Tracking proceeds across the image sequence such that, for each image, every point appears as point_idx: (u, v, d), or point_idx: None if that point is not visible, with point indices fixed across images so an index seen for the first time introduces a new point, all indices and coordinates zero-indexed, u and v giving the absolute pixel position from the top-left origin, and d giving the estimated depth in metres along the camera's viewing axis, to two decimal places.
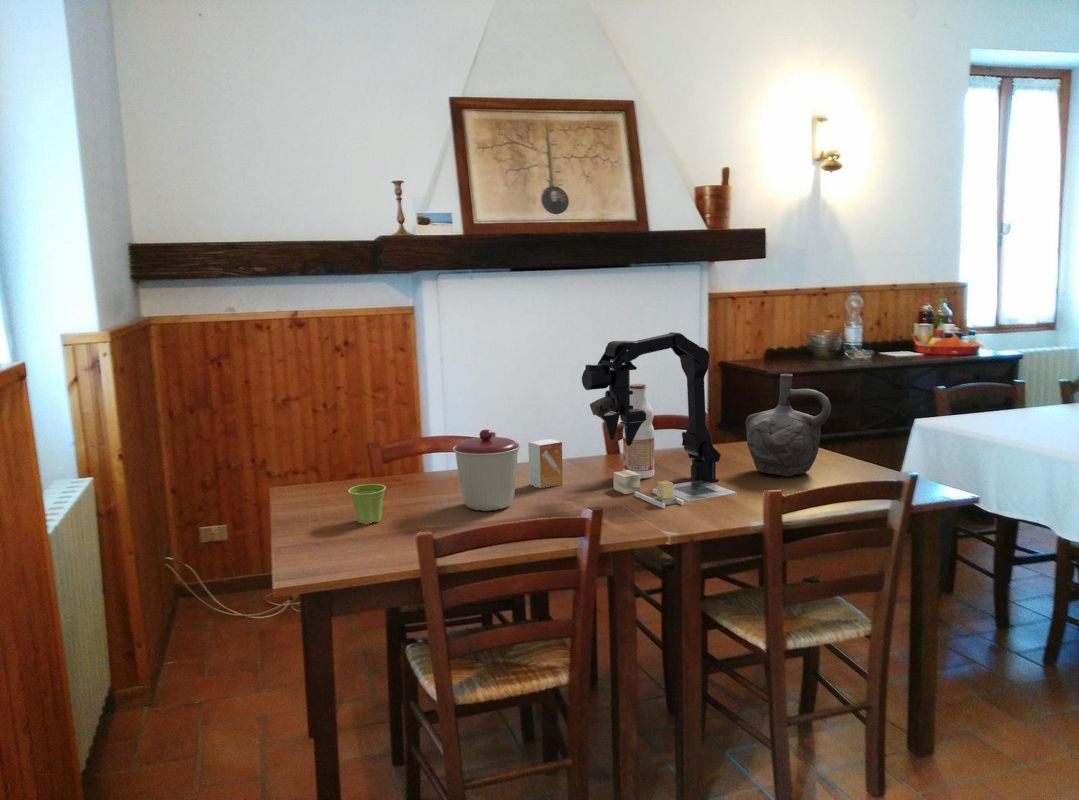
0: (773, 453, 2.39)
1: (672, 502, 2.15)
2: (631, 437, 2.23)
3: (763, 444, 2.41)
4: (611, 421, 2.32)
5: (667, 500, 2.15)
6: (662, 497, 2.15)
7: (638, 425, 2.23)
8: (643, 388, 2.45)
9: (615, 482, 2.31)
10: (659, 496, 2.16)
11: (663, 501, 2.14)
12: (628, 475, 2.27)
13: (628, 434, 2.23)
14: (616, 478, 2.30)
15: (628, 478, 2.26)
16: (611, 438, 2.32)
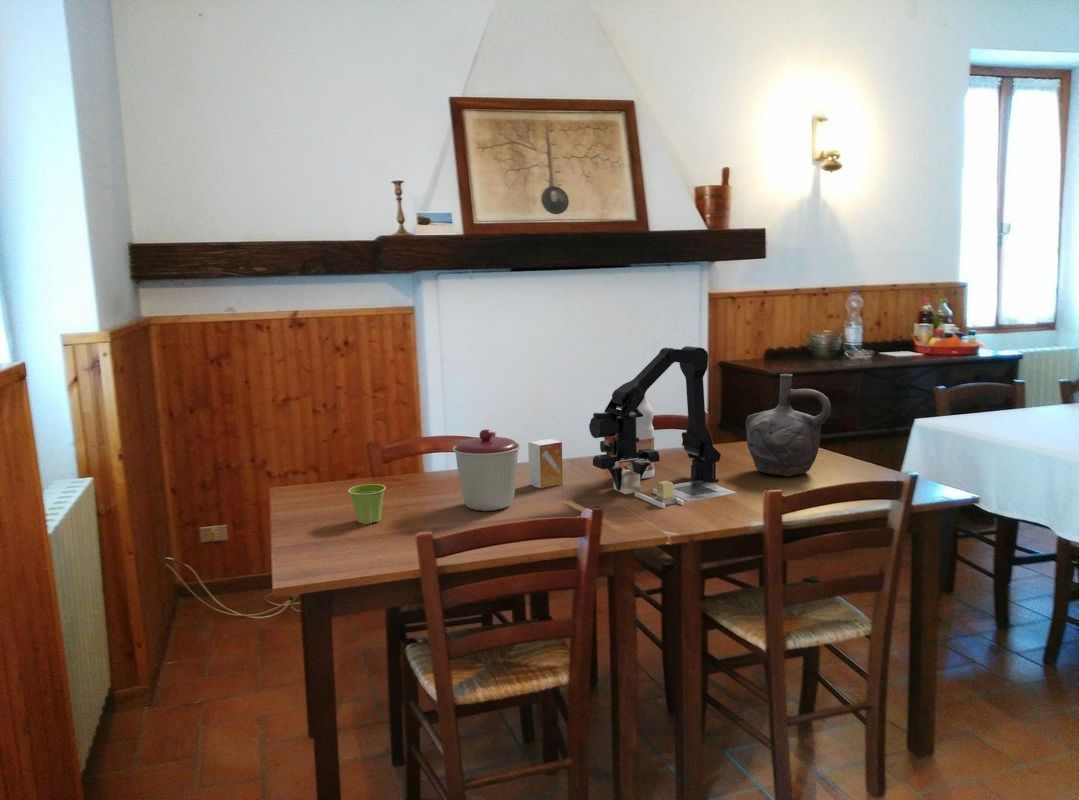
0: (773, 453, 2.39)
1: (672, 502, 2.15)
2: (616, 482, 2.28)
3: (763, 444, 2.41)
4: (636, 469, 2.31)
5: (667, 500, 2.15)
6: (662, 497, 2.15)
7: (616, 472, 2.26)
8: None
9: None
10: (659, 496, 2.16)
11: (663, 501, 2.14)
12: (628, 475, 2.27)
13: (613, 478, 2.29)
14: None
15: (628, 478, 2.26)
16: None
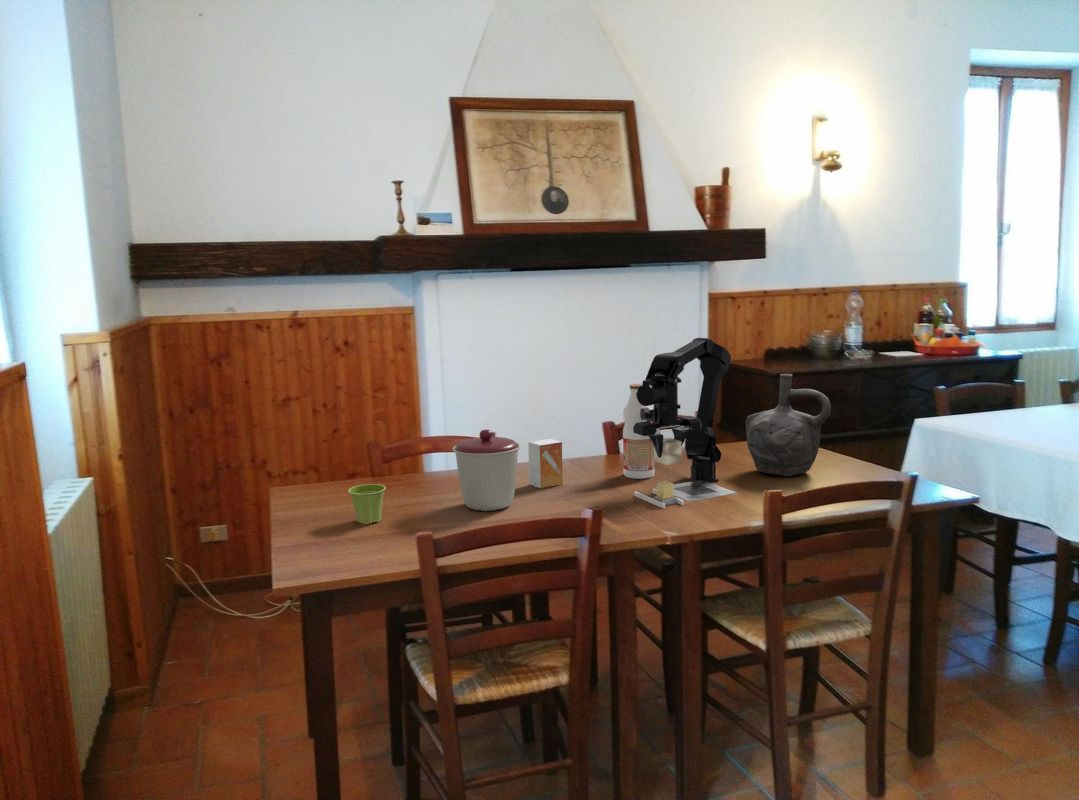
0: (773, 453, 2.39)
1: (672, 502, 2.15)
2: (657, 449, 2.26)
3: (763, 444, 2.41)
4: (677, 436, 2.28)
5: (667, 500, 2.15)
6: (662, 497, 2.15)
7: (657, 439, 2.23)
8: None
9: None
10: (659, 496, 2.16)
11: (663, 501, 2.14)
12: (669, 442, 2.25)
13: (654, 445, 2.26)
14: None
15: (669, 445, 2.24)
16: None
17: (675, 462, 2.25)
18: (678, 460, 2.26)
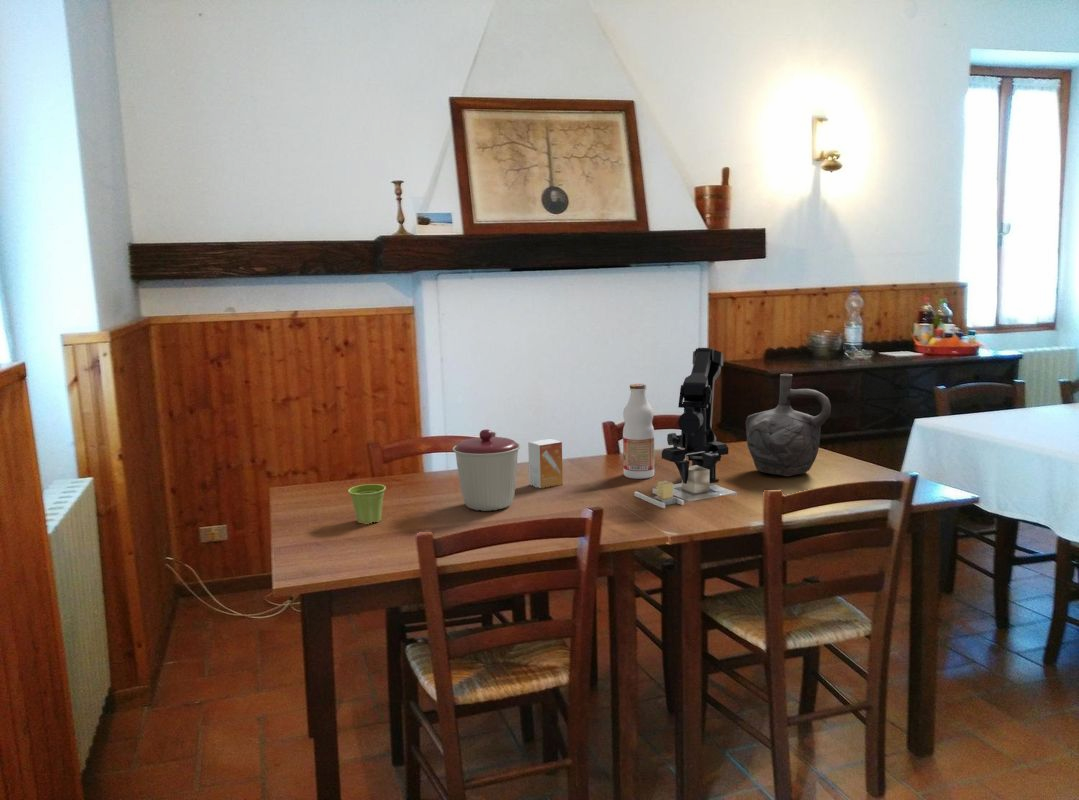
0: (773, 453, 2.39)
1: (672, 502, 2.15)
2: (682, 475, 2.25)
3: (763, 444, 2.41)
4: (706, 461, 2.28)
5: (667, 500, 2.15)
6: (662, 497, 2.15)
7: (683, 465, 2.23)
8: (643, 388, 2.45)
9: None
10: (659, 496, 2.16)
11: (663, 501, 2.14)
12: (698, 470, 2.25)
13: (679, 471, 2.26)
14: None
15: (698, 473, 2.24)
16: None
17: (703, 490, 2.25)
18: (706, 488, 2.26)
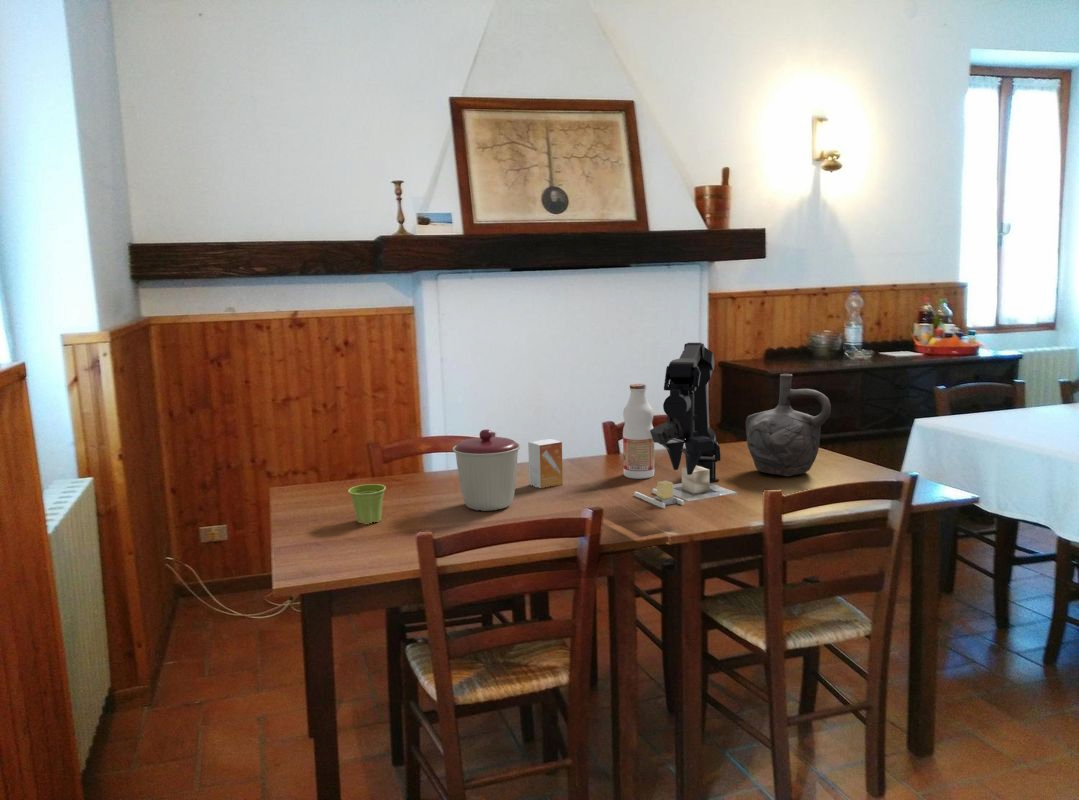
0: (773, 453, 2.39)
1: (672, 502, 2.15)
2: (692, 466, 2.04)
3: (763, 444, 2.41)
4: (675, 449, 2.10)
5: (667, 500, 2.15)
6: (662, 497, 2.15)
7: (700, 452, 2.04)
8: (643, 388, 2.45)
9: (683, 477, 2.28)
10: (659, 496, 2.16)
11: (663, 501, 2.14)
12: (698, 470, 2.25)
13: (689, 462, 2.04)
14: (684, 473, 2.28)
15: (698, 473, 2.24)
16: (675, 468, 2.10)
17: (703, 490, 2.25)
18: (706, 488, 2.26)
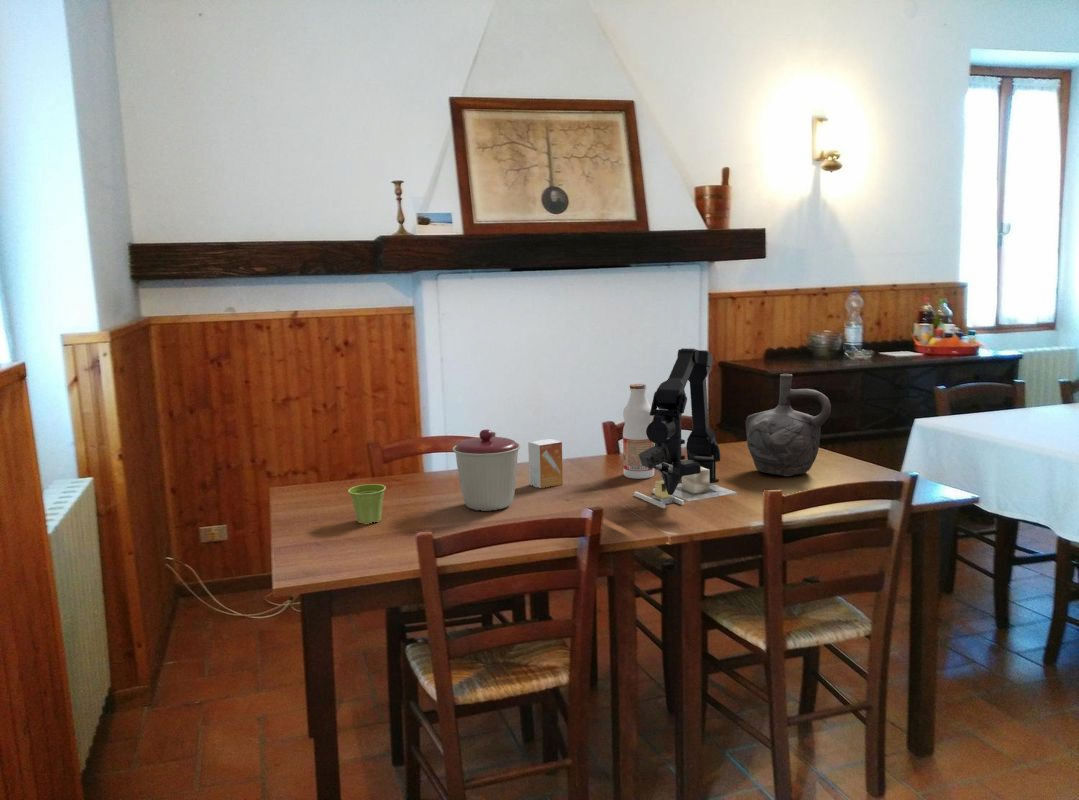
0: (773, 453, 2.39)
1: (670, 501, 2.16)
2: (674, 486, 2.13)
3: (763, 444, 2.41)
4: None
5: (665, 499, 2.15)
6: (660, 496, 2.16)
7: None
8: (643, 388, 2.45)
9: (683, 477, 2.28)
10: (657, 495, 2.17)
11: (661, 500, 2.15)
12: None
13: (671, 483, 2.12)
14: None
15: None
16: None
17: (703, 490, 2.25)
18: (706, 488, 2.26)
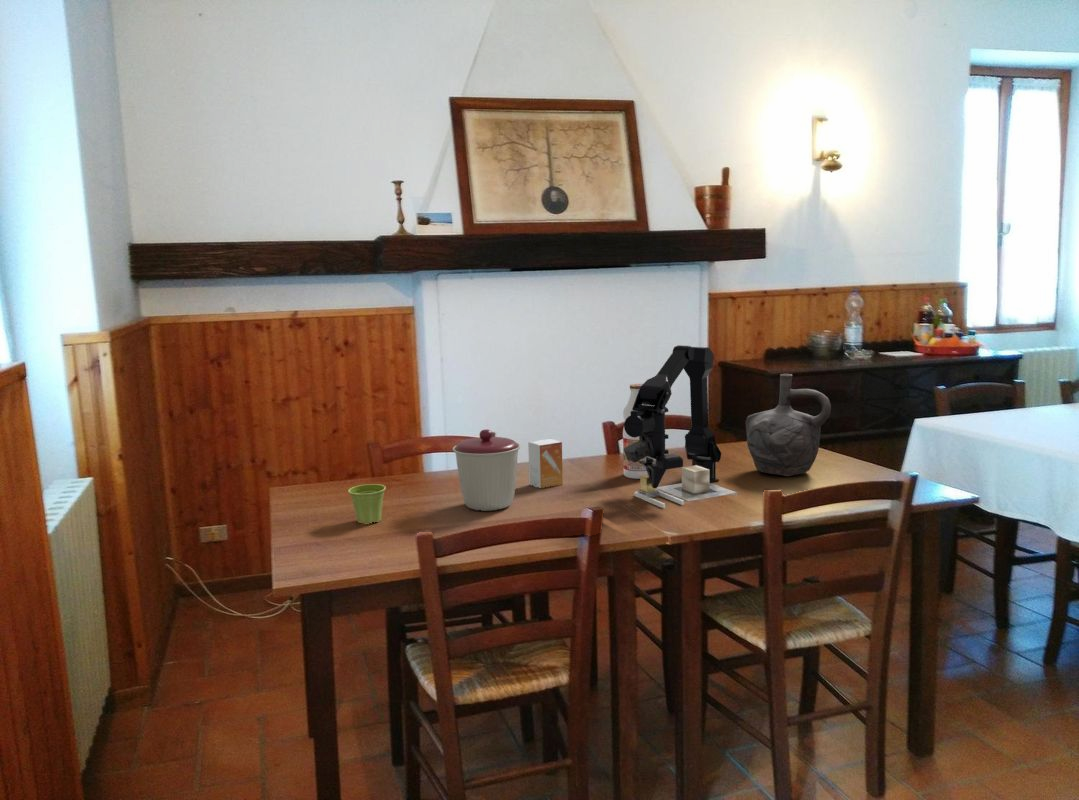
0: (773, 453, 2.39)
1: (655, 495, 2.23)
2: (658, 480, 2.20)
3: (763, 444, 2.41)
4: None
5: (650, 493, 2.22)
6: (645, 490, 2.22)
7: None
8: None
9: (683, 477, 2.28)
10: (642, 489, 2.23)
11: (646, 494, 2.21)
12: (698, 470, 2.25)
13: (655, 477, 2.19)
14: (684, 473, 2.28)
15: (698, 473, 2.24)
16: None
17: (703, 490, 2.25)
18: (706, 488, 2.26)
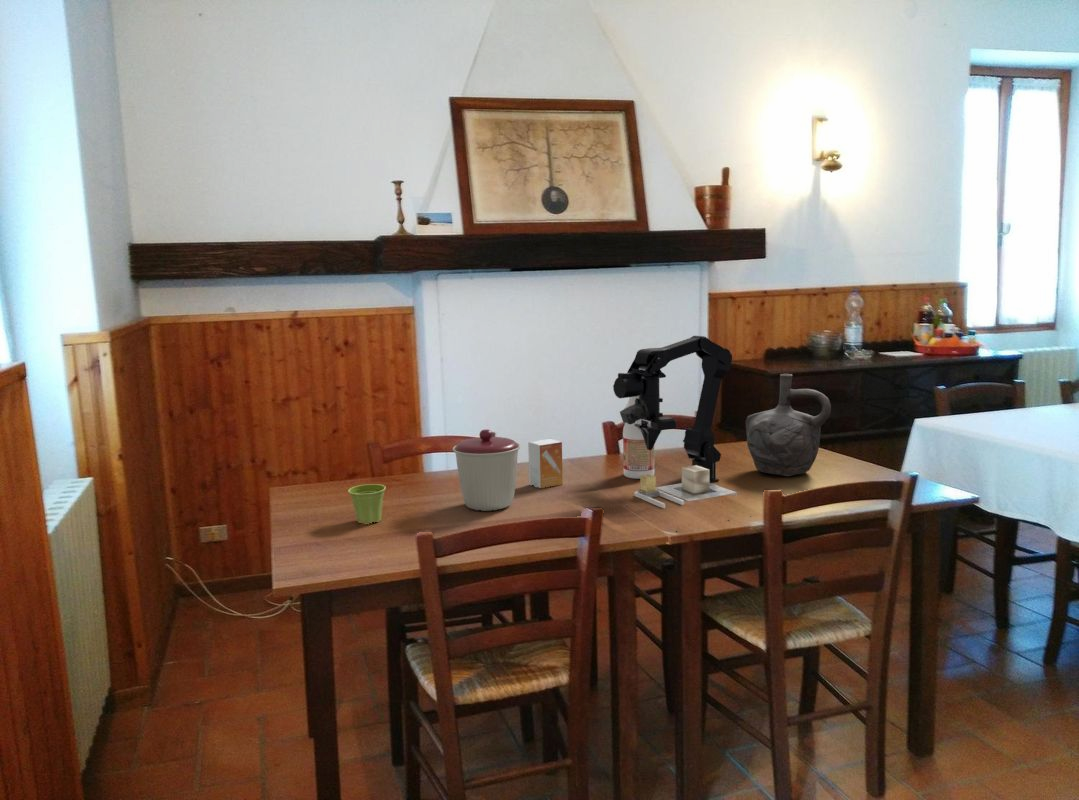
0: (773, 453, 2.39)
1: (655, 495, 2.23)
2: (652, 442, 2.29)
3: (763, 444, 2.41)
4: None
5: (650, 493, 2.22)
6: (645, 490, 2.22)
7: (659, 430, 2.29)
8: None
9: (683, 477, 2.28)
10: (642, 489, 2.23)
11: (646, 494, 2.21)
12: (698, 470, 2.25)
13: (649, 439, 2.29)
14: (684, 473, 2.28)
15: (698, 473, 2.24)
16: None
17: (703, 490, 2.25)
18: (706, 488, 2.26)
